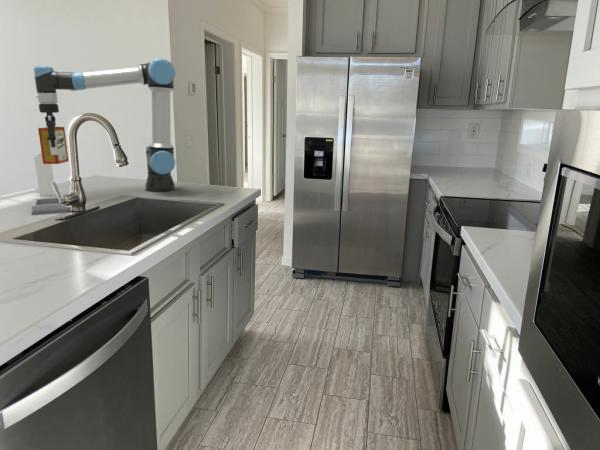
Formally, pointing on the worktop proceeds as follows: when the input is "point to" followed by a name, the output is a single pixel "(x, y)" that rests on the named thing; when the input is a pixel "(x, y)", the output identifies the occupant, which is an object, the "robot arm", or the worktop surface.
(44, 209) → the dock
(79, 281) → the worktop surface
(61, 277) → the worktop surface
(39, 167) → the long grey-white prism
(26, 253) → the worktop surface
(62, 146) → the baking soda box
